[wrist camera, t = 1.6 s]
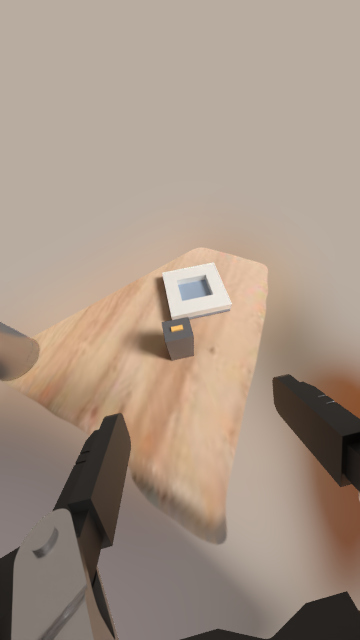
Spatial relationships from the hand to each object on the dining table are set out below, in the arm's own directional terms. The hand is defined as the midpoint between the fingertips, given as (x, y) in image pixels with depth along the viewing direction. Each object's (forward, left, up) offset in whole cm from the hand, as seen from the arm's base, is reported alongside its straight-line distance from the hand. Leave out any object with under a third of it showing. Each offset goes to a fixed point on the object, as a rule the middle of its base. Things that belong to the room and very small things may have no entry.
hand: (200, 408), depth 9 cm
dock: (+6, +25, -23) cm, 35 cm away
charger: (0, +12, -23) cm, 26 cm away
